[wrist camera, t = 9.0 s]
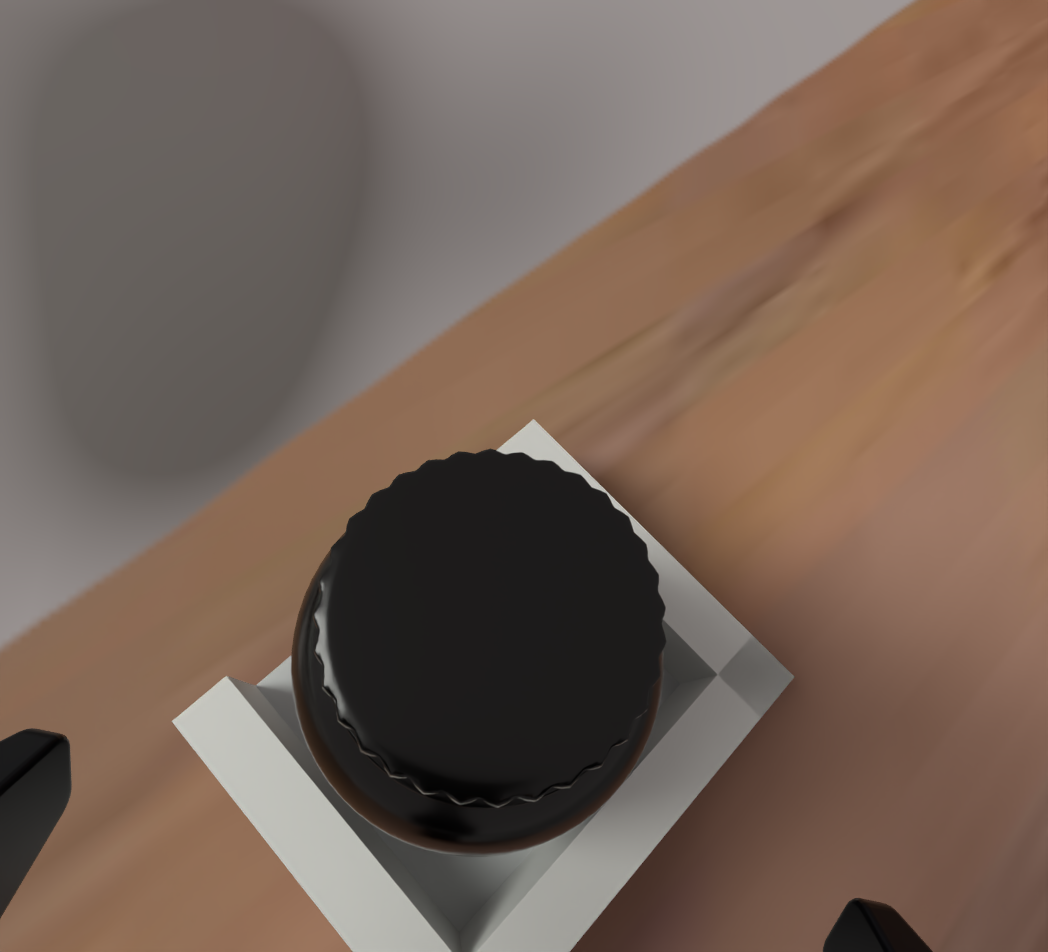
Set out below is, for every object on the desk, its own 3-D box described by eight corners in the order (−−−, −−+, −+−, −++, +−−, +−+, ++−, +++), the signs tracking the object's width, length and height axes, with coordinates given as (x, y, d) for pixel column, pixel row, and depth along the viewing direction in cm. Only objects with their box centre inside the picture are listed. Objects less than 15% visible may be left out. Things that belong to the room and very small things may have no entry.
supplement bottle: (531, 539, 22) (627, 331, 11) (620, 754, 20) (845, 765, 9) (317, 616, 21) (177, 464, 9) (390, 858, 19) (319, 1028, 7)
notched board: (739, 687, 22) (794, 676, 19) (454, 1023, 18) (459, 1087, 15) (519, 465, 24) (533, 419, 20) (216, 725, 20) (171, 721, 16)
